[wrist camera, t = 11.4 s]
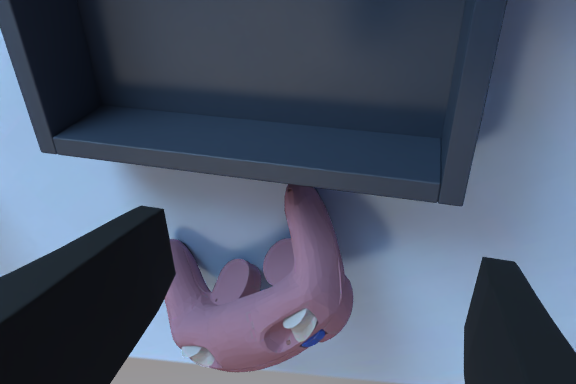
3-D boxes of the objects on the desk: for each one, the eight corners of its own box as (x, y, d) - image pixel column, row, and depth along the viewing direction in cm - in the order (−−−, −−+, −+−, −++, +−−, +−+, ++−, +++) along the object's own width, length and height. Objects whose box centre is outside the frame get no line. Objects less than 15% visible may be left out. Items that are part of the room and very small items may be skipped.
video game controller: (214, 268, 28) (204, 393, 24) (153, 238, 25) (129, 374, 21) (358, 209, 23) (375, 353, 19) (302, 163, 20) (309, 321, 16)
